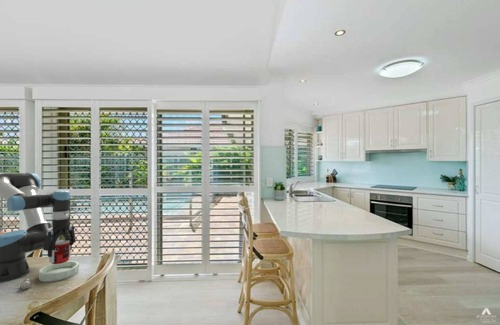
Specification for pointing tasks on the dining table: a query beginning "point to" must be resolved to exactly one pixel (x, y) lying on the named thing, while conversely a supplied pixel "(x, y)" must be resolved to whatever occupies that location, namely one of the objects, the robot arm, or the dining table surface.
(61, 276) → the bowl
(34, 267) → the dining table surface
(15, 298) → the dining table surface
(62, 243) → the canned food
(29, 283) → the pebble
